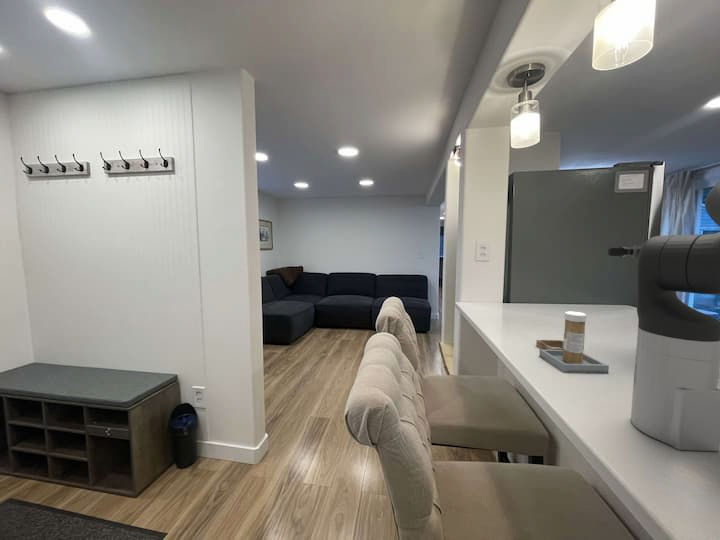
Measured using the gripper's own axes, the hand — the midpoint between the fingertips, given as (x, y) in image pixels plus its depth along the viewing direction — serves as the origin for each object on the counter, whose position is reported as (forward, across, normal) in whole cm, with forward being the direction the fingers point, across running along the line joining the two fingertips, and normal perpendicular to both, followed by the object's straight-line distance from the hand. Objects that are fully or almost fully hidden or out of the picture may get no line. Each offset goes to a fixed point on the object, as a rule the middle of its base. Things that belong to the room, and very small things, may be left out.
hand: (622, 252), depth 73 cm
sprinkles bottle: (+11, 0, +30) cm, 32 cm away
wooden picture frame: (+9, -10, +30) cm, 33 cm away
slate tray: (+11, 0, +30) cm, 32 cm away
